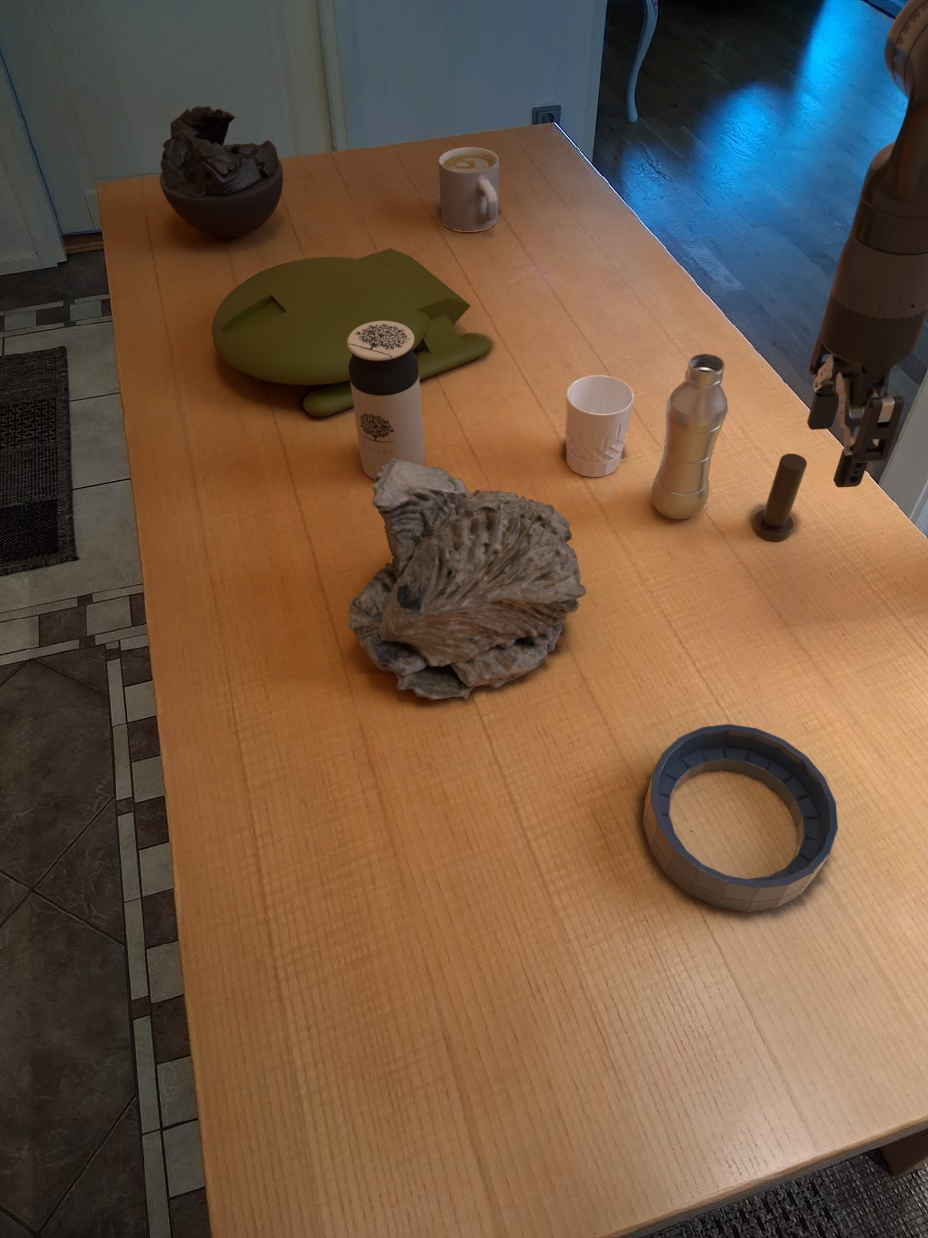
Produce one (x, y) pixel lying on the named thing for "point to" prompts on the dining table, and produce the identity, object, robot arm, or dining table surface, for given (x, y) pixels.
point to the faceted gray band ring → (761, 762)
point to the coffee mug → (469, 188)
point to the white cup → (597, 424)
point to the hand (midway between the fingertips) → (831, 454)
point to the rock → (463, 583)
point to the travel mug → (386, 395)
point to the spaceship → (337, 321)
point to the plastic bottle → (690, 438)
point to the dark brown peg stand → (781, 500)
